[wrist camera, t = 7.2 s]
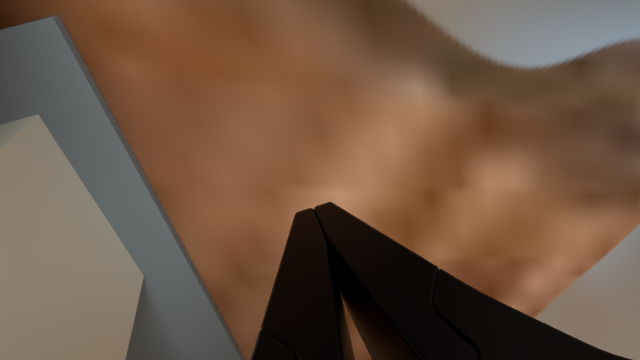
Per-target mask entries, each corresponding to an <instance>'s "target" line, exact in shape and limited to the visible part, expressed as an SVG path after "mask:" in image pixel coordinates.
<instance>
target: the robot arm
mask: <svg viewBox="0 0 640 360" xmlns="http://www.w3.org/2000/svg"><path fill="white" fill-rule="evenodd" d="M341 296H342V297H341ZM342 298H343V301H344V303H345V305H346V307H347V309H348V311H349V313H350V315H351V317H352V319H353V321H354V323H355V326H356V328H357V330H358V332H359V334H360V336H361V338H362V340H363V342H364V344H365V346H366V348H367V350H368V352H369V354H370V356H371V358H372V360H632V359H628V358H624V357H621V356H618V355H614V354H612V353H609V352H606V351H603V350H601V349H598V348H596V347H594V346H591V345H589V344H587V343H585V342H583V341H580V340H578V339H576V338H574V337H572V336H570V335H568V334H566V333H563V332H562V331H560V330H557V329H555V328H553V327H551V326H549V325H547V324H545V323H543V322H540V321H539V320H536V319H534V318H532V317H530V316H528V315H526V314H524V313H522V312H520V311H518V310H516V309H513V308H511V307H509V306H507V305H505V304H503V303H501V302H499V301H497V300H495V299H493V298H491V297H490V296H488V295H486V294H484V293H482V292H480V291H478V290H476V289H474V288H473V287H471V286H469V285H467V284H466V283H464V282H462V281H460V280H459V279H457V278H455V277H454V276H452V275H450V274H449V273H447V272H445V271H444V270H442V269H439V268H438V267H437V266H435V265H434V264H432V263H430V262H429V261H427V260H426V259H424V258H422V257H421V256H419V255H417V254H416V253H414V252H412V251H411V250H409V249H408V248H406V247H404V246H403V245H401V244H399V243H398V242H396V241H394V240H393V239H391V238H389V237H388V236H386V235H385V234H383V233H381V232H380V231H378V230H376V229H375V228H373V227H371V226H370V225H368V224H367V223H365V222H363V221H362V220H360V219H358V218H357V217H355V216H353V215H352V214H350V213H349V212H347V211H345V210H344V209H342V208H340V207H339V206H337V205H335V204H334V203H332V202H328V203H325V204H322V205H319V206H316V207H315V208H314V209H312V208H309V209H306V210H303V211H299V212H297V213H296V214H295V216H294V219H293V223H292V226H291V229H290V233H289V236H288V239H287V243H286V246H285V249H284V253H283V256H282V259H281V263H280V266H279V269H278V272H277V276H276V279H275V282H274V286H273V289H272V292H271V296H270V299H269V302H268V306H267V309H266V312H265V316H264V319H263V322H262V325H261V329H262V330H260V332H259V335H258V338H257V341H256V345H255V348H254V351H253V354H252V357H251V360H355V358H354V353H353V348H352V344H351V339H350V334H349V329H348V324H347V319H346V314H345V309H344V305H343V301H342Z"/></svg>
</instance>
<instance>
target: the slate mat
mask: <svg viewBox="0 0 640 360" xmlns="http://www.w3.org/2000/svg"><path fill="white" fill-rule="evenodd" d="M34 115H39V116H40V118H41V119H42V121H43V122H44V124H45V126H46V127H47V129H48V130H49V132H50V133H51V135H52V136H53V138H54V139H55V141H56V142H57V144H58V145H59V147H60V148H61V150H62V152H63V153H64V155H65V156H66V158H67V159H68V161H69V162H70V164H71V165H72V167H73V168H74V170H75V171H76V173H77V174H78V176H79V178H80V179H81V181H82V182H83V184H84V185H85V187H86V188H87V190H88V191H89V193H90V194H91V196H92V197H93V199H94V200H95V202H96V204H97V205H98V207H99V208H100V210H101V211H102V213H103V214H104V216H105V217H106V219H107V220H108V222H109V223H110V225H111V226H112V228H113V230H114V231H115V233H116V234H117V236H118V237H119V239H120V240H121V242H122V243H123V245H124V246H125V248H126V249H127V251H128V253H129V254H130V256H131V257H132V259H133V260H134V262H135V263H136V265H137V266H138V268H139V269H140V271H141V272H142V274H143V275H144V278H143V283H142V287H141V292H140V296H139V301H138V305H137V310H136V314H135V319H134V323H133V328H132V332H131V337H130V341H129V346H128V350H127V355H126V359H125V360H245V359H244V357H243V355H242V353H241V351H240V349H239V348H238V346H237V344H236V342H235V340H234V338H233V336H232V335H231V333H230V331H229V329H228V327H227V325H226V324H225V322H224V320H223V318H222V316H221V314H220V312H219V311H218V309H217V307H216V305H215V303H214V301H213V299H212V298H211V296H210V294H209V292H208V290H207V288H206V287H205V285H204V283H203V281H202V279H201V277H200V275H199V274H198V272H197V270H196V268H195V266H194V264H193V262H192V261H191V259H190V257H189V255H188V253H187V251H186V249H185V248H184V246H183V244H182V242H181V240H180V238H179V237H178V235H177V233H176V231H175V229H174V227H173V225H172V224H171V222H170V220H169V218H168V216H167V214H166V212H165V211H164V209H163V207H162V205H161V203H160V201H159V200H158V198H157V196H156V194H155V192H154V190H153V188H152V187H151V185H150V183H149V181H148V179H147V177H146V175H145V174H144V172H143V170H142V168H141V166H140V164H139V163H138V161H137V159H136V157H135V155H134V153H133V151H132V150H131V148H130V146H129V144H128V142H127V140H126V138H125V137H124V135H123V133H122V131H121V129H120V127H119V126H118V124H117V122H116V120H115V118H114V116H113V114H112V113H111V111H110V109H109V107H108V105H107V103H106V101H105V100H104V98H103V96H102V94H101V92H100V90H99V89H98V87H97V85H96V83H95V81H94V79H93V77H92V76H91V74H90V72H89V70H88V68H87V66H86V64H85V63H84V61H83V59H82V57H81V55H80V53H79V52H78V50H77V48H76V46H75V44H74V42H73V40H72V39H71V37H70V35H69V33H68V31H67V29H66V27H65V26H64V24H63V22H62V20H61V18H60V16H59V15H55V16H51V17H47V18H43V19H39V20H36V21H32V22H28V23H24V24H20V25H16V26H12V27H8V28H4V29H0V125H1V124H5V123H8V122H12V121H16V120H19V119H23V118H27V117H30V116H34Z"/></svg>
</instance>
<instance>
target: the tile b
mask: <svg viewBox="0 0 640 360" xmlns="http://www.w3.org/2000/svg"><path fill="white" fill-rule="evenodd" d="M143 278H144V275H143V274H142V272H141V271H140V269H139V268H138V266H137V265H136V263H135V262H134V260H133V259H132V257H131V256H130V254H129V253H128V251H127V249H126V248H125V246H124V245H123V243H122V242H121V240H120V239H119V237H118V236H117V234H116V233H115V231H114V230H113V228H112V226H111V225H110V223H109V222H108V220H107V219H106V217H105V216H104V214H103V213H102V211H101V210H100V208H99V207H98V205H97V204H96V202H95V200H94V199H93V197H92V196H91V194H90V193H89V191H88V190H87V188H86V187H85V185H84V184H83V182H82V181H81V179H80V178H79V176H78V174H77V173H76V171H75V170H74V168H73V167H72V165H71V164H70V162H69V161H68V159H67V158H66V156H65V155H64V153H63V152H62V150H61V148H60V147H59V145H58V144H57V142H56V141H55V139H54V138H53V136H52V135H51V133H50V132H49V130H48V129H47V127H46V126H45V124H44V122H43V121H42V119H41V118H40V116H39V115H34V116H30V117H27V118H23V119H19V120H16V121H12V122H8V123H5V124H1V125H0V360H125V359H126V355H127V350H128V346H129V341H130V337H131V332H132V328H133V323H134V319H135V314H136V310H137V305H138V301H139V296H140V292H141V287H142V283H143Z"/></svg>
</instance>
